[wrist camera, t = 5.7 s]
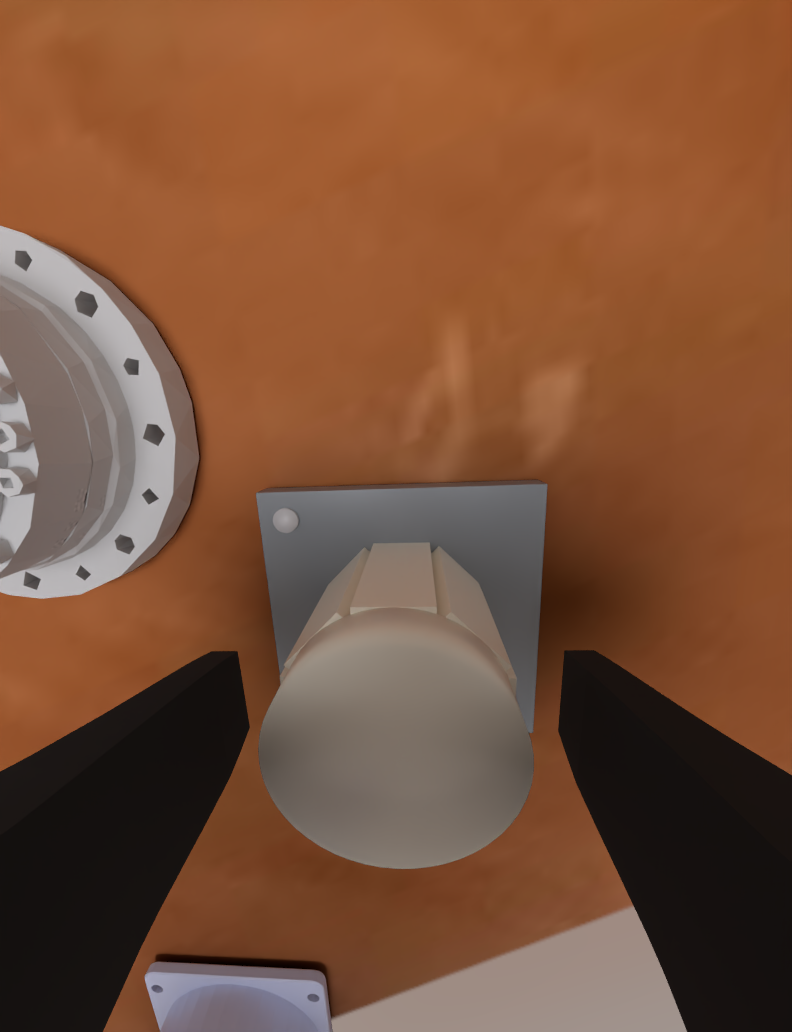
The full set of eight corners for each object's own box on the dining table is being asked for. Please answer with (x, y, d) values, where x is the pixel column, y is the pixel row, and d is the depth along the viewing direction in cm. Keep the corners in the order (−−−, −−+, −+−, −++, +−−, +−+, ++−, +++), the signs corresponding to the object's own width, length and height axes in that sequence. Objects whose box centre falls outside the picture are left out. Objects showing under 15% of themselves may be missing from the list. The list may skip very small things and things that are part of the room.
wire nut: (479, 683, 11) (526, 874, 7) (333, 681, 12) (273, 863, 7) (483, 541, 10) (542, 644, 5) (321, 543, 11) (240, 644, 6)
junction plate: (525, 713, 13) (574, 843, 9) (295, 711, 13) (243, 833, 9) (537, 479, 11) (607, 511, 7) (267, 488, 11) (186, 522, 7)
